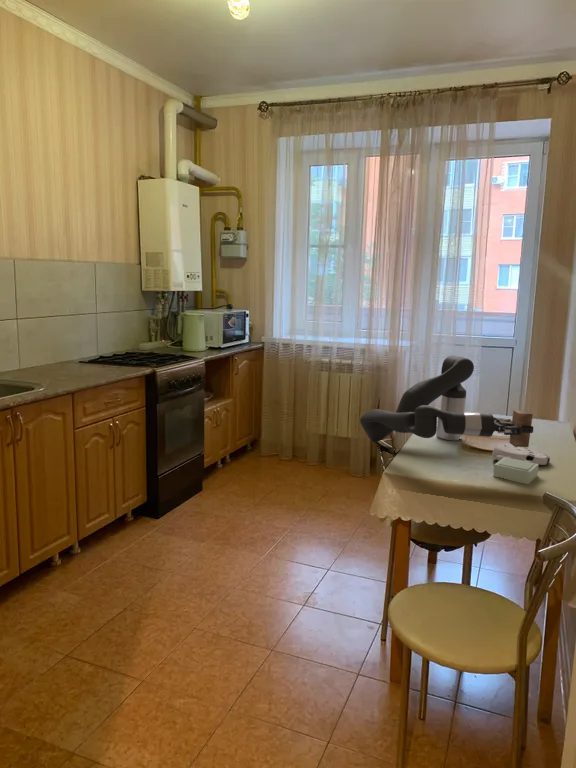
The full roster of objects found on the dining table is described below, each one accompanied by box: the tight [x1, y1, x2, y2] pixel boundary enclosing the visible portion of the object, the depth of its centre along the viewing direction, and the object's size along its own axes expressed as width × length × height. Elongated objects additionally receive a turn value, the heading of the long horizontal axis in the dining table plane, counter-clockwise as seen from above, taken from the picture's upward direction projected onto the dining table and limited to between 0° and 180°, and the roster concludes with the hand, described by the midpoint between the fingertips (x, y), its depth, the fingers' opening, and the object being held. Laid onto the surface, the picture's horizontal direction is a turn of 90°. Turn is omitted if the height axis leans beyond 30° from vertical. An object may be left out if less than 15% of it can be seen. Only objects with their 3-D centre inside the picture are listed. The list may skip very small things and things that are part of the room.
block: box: [508, 409, 533, 448], centre depth 184 cm, size 4×4×11 cm
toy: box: [491, 443, 551, 466], centre depth 203 cm, size 22×5×20 cm
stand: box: [492, 457, 539, 485], centre depth 187 cm, size 11×11×4 cm
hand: (529, 427), depth 184 cm, fingers closed on block, 4 cm apart
